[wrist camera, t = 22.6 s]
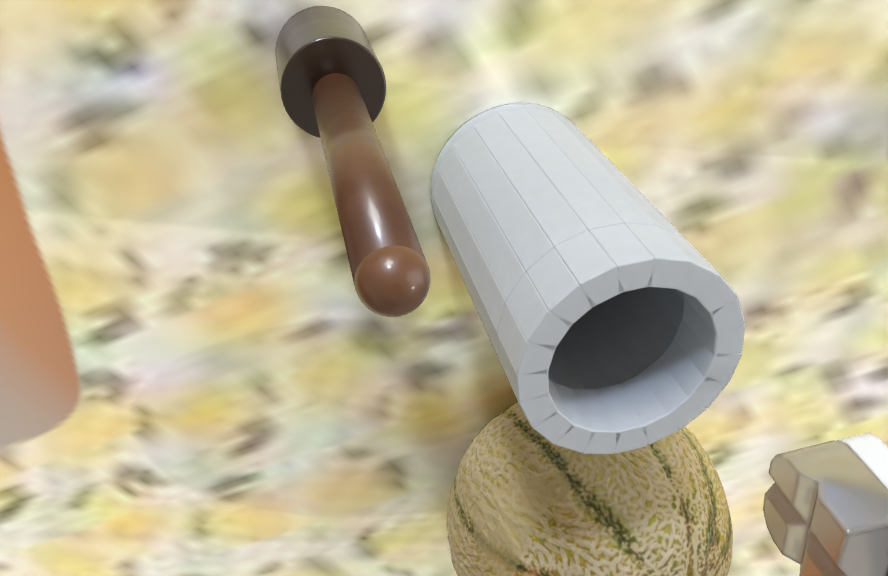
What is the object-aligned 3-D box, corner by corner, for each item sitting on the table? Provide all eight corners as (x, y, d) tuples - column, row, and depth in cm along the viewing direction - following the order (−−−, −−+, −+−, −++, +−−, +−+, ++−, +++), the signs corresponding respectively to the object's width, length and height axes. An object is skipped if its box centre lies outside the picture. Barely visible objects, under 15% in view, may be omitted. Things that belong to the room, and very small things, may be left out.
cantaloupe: (378, 481, 49) (425, 721, 37) (520, 294, 44) (630, 498, 32) (563, 542, 56) (656, 763, 43) (705, 385, 51) (857, 584, 38)
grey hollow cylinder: (420, 119, 38) (510, 287, 25) (590, 89, 39) (757, 236, 26) (439, 269, 42) (523, 476, 30) (591, 239, 43) (734, 426, 31)
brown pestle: (266, 13, 34) (293, 239, 17) (361, -2, 34) (476, 204, 18) (286, 106, 36) (327, 385, 20) (375, 90, 37) (489, 349, 20)
